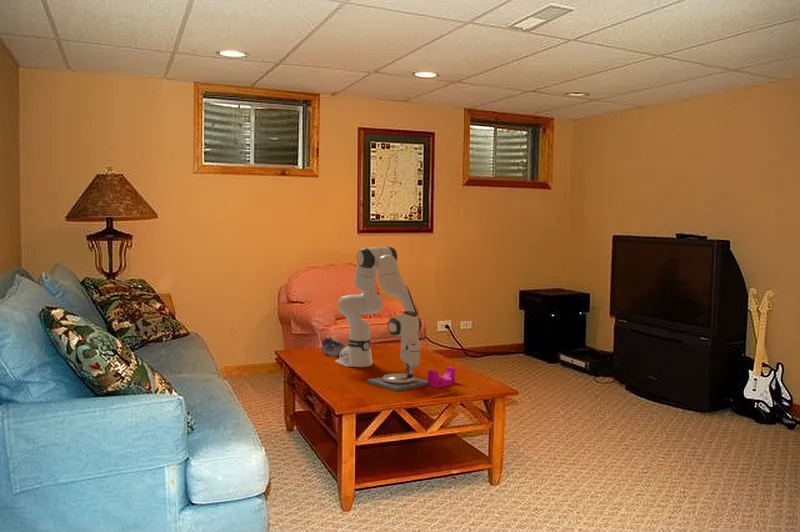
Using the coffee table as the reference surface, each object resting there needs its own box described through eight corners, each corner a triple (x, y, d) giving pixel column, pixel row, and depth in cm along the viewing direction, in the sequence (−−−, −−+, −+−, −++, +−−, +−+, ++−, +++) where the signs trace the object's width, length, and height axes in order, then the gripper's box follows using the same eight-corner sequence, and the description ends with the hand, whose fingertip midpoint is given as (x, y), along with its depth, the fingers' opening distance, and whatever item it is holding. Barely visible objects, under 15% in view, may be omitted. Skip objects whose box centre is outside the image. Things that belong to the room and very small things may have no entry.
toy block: (436, 388, 316) (437, 372, 315) (427, 385, 320) (428, 370, 320) (458, 383, 325) (458, 368, 325) (449, 381, 330) (449, 366, 330)
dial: (383, 383, 313) (384, 368, 313) (381, 376, 329) (381, 361, 329) (417, 383, 315) (417, 368, 315) (413, 376, 331) (413, 361, 330)
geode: (314, 353, 396) (315, 336, 396) (331, 351, 403) (332, 335, 402) (330, 359, 380) (330, 342, 379) (348, 357, 386) (348, 340, 385)
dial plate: (367, 382, 323) (367, 379, 323) (400, 376, 338) (400, 373, 338) (396, 391, 307) (397, 387, 307) (430, 384, 321) (430, 381, 321)
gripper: (397, 341, 331) (397, 368, 332) (409, 348, 312) (409, 377, 313) (409, 341, 333) (409, 367, 334) (422, 348, 314) (421, 376, 314)
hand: (409, 372), depth 323 cm, fingers open, 4 cm apart
